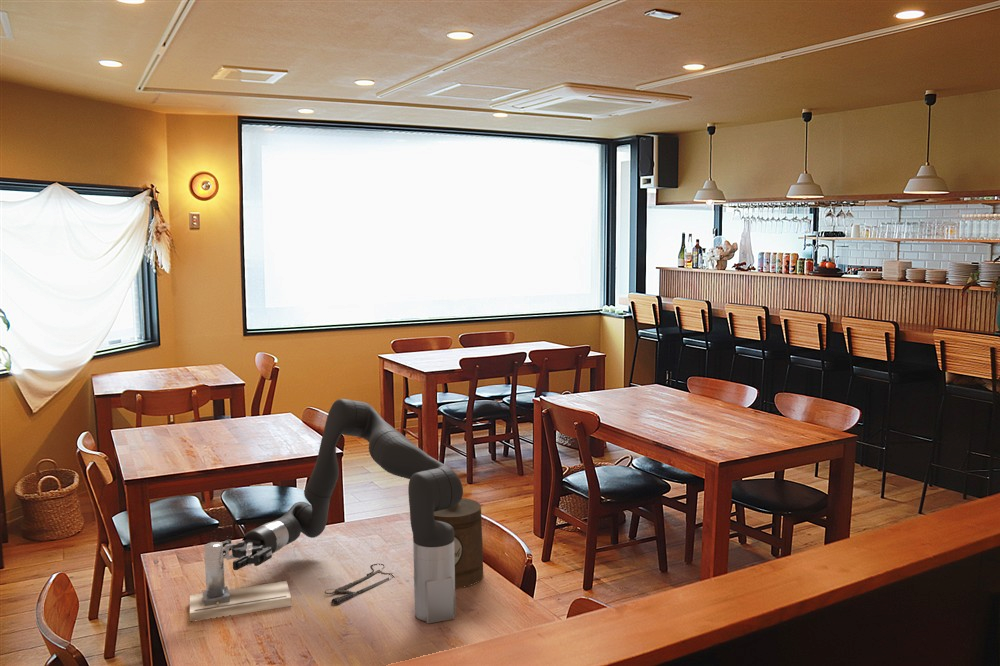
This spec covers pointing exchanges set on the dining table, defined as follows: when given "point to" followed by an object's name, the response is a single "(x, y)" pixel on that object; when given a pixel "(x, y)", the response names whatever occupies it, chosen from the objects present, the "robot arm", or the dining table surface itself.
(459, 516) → the wooden container
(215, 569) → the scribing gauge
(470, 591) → the dining table surface
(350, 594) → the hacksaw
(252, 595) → the birch board
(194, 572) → the dining table surface
